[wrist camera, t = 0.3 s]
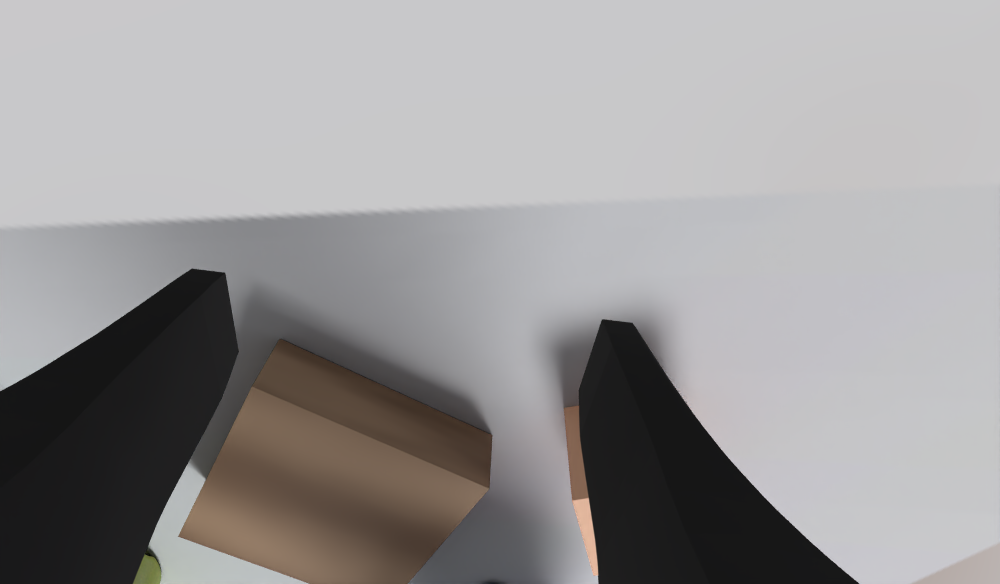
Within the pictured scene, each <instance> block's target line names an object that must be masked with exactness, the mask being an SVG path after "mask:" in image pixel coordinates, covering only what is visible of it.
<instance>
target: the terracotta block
mask: <svg viewBox="0 0 1000 584" xmlns="http://www.w3.org/2000/svg"><path fill="white" fill-rule="evenodd" d="M564 414H565V426H566V437H567V448H568V460H569V471H570V482H571V494H572V502H573V505H574V509H575V512H576V516H577V519H578V523H579V526H580V530H581V533H582V537H583V540H584V544H585V547H586V551H587V554H588V558H589V561H590V565H591V568H592V572H593V575H594V576H596V575H598V563H597V554H596V545H595V537H594V530H593V524H592V517H591V510H590V504H589V497H588V490H587V484H586V477H585V470H584V463H583V457H582V450H581V442H580V428H579V405H578V406H572V407H566V408H564Z"/></svg>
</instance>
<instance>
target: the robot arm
mask: <svg viewBox="0 0 1000 584" xmlns="http://www.w3.org/2000/svg"><path fill="white" fill-rule="evenodd" d="M238 352H239V351H238V345H237V339H236V333H235V327H234V321H233V316H232V310H231V304H230V298H229V292H228V286H227V280H226V274H225V273H223V272H215V271H206V270H198V269H191V270H189V271H188V272H186V273H185V274H183V275H182V276H180V277H179V278H177V279H176V280H174V281H173V282H171V283H170V284H169V285H167V286H166V287H164V288H163V289H161V290H160V291H159V292H157V293H156V294H154V295H153V296H152V297H150V298H149V299H147V300H146V301H144V302H143V303H142V304H140V305H139V306H137V307H136V308H134V309H133V310H131V311H130V312H128V313H127V314H126V315H124V316H123V317H121V318H120V319H118V320H117V321H115V322H114V323H112V324H111V325H109V326H108V327H106V328H105V329H103V330H102V331H101V332H99V333H98V334H96V335H94V336H93V337H91V338H90V339H88V340H86V341H85V342H83V343H82V344H80V345H78V346H77V347H75V348H74V349H72V350H70V351H69V352H67V353H66V354H64V355H62V356H61V357H59V358H57V359H56V360H54V361H53V362H51V363H49V364H48V365H46V366H45V367H43V368H41V369H40V370H38V371H36V372H34V373H33V374H31V375H29V376H27V377H26V378H24V379H22V380H20V381H19V382H17V383H15V384H13V385H11V386H9V387H8V388H6V389H4V390H2V391H0V584H133V582H134V580H135V577H136V575H137V572H138V570H139V567H140V565H141V562H142V560H143V557H144V555H145V552H146V550H147V547H148V545H149V542H150V540H151V537H152V535H153V532H154V530H155V527H156V525H157V523H158V521H159V518H160V516H161V514H162V512H163V510H164V508H165V506H166V504H167V502H168V500H169V498H170V496H171V494H172V492H173V490H174V488H175V486H176V484H177V483H178V481H179V479H180V477H181V475H182V473H183V471H184V469H185V467H186V466H187V464H188V462H189V460H190V458H191V456H192V454H193V452H194V451H195V449H196V447H197V445H198V443H199V441H200V439H201V437H202V435H203V434H204V432H205V430H206V428H207V426H208V424H209V422H210V420H211V418H212V416H213V414H214V412H215V410H216V408H217V406H218V405H219V403H220V401H221V399H222V396H223V393H224V391H225V388H226V386H227V383H228V380H229V378H230V375H231V372H232V369H233V366H234V363H235V360H236V357H237V355H238ZM579 428H580V442H581V450H582V457H583V463H584V470H585V477H586V484H587V490H588V497H589V504H590V510H591V517H592V524H593V530H594V537H595V545H596V554H597V563H598V581H599V584H859V583H858V582H857V581H855V580H854V579H853V578H852V577H851V576H849V575H848V574H847V573H846V572H845V571H843V570H842V569H841V568H840V567H839V566H837V565H836V564H835V563H834V562H833V561H831V560H830V559H829V558H828V557H827V556H826V555H825V554H823V553H822V552H821V551H820V550H819V549H818V548H817V547H816V546H814V545H813V544H812V543H811V542H810V541H809V540H808V539H807V538H806V537H805V536H804V535H803V534H801V533H800V532H799V531H798V530H797V529H796V528H795V527H794V526H793V525H792V524H791V523H790V522H789V521H788V520H787V519H786V518H785V517H784V516H783V515H781V514H780V513H779V512H778V511H777V510H776V509H775V508H774V507H773V506H772V505H771V504H770V503H769V502H768V501H767V500H766V499H765V498H764V497H763V496H762V494H761V493H760V492H759V491H758V490H757V489H756V488H755V487H754V486H753V485H752V484H751V483H750V481H749V480H748V479H747V478H746V477H745V476H744V475H743V474H742V473H741V472H740V471H739V469H738V468H737V467H736V466H735V465H734V464H733V463H732V462H731V460H730V459H729V458H728V457H727V456H726V455H725V453H724V452H723V451H722V450H721V449H720V447H719V446H718V445H717V444H716V442H715V441H714V440H713V439H712V437H711V436H710V435H709V434H708V432H707V431H706V430H705V429H704V427H703V426H702V425H701V423H700V422H699V421H698V419H697V418H696V417H695V415H694V414H693V412H692V411H691V410H690V408H689V407H688V405H687V404H686V403H685V401H684V400H683V398H682V397H681V395H680V394H679V393H678V391H677V390H676V388H675V387H674V385H673V384H672V383H671V381H670V380H669V378H668V377H667V375H666V374H665V372H664V371H663V369H662V367H661V366H660V364H659V363H658V361H657V360H656V358H655V357H654V355H653V354H652V352H651V351H650V349H649V347H648V346H647V344H646V343H645V341H644V340H643V338H642V336H641V335H640V333H639V332H638V330H637V329H636V327H635V326H634V324H633V323H628V322H620V321H612V320H604V319H602V321H601V324H600V327H599V330H598V333H597V336H596V339H595V342H594V346H593V349H592V352H591V355H590V358H589V361H588V364H587V367H586V370H585V373H584V376H583V379H582V382H581V385H580V388H579Z"/></svg>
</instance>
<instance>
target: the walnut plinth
mask: <svg viewBox="0 0 1000 584" xmlns="http://www.w3.org/2000/svg"><path fill="white" fill-rule="evenodd" d="M491 451H492V435H490V434H488V433H486V432H484V431H482V430H479V429H477V428H475V427H473V426H471V425H468V424H466V423H464V422H462V421H460V420H457V419H455V418H453V417H451V416H449V415H446V414H444V413H442V412H440V411H438V410H435V409H433V408H431V407H429V406H427V405H424V404H422V403H420V402H418V401H416V400H413V399H411V398H409V397H407V396H405V395H402V394H400V393H398V392H396V391H394V390H391V389H389V388H387V387H385V386H383V385H380V384H378V383H376V382H374V381H372V380H370V379H367V378H365V377H363V376H361V375H359V374H356V373H354V372H352V371H350V370H348V369H345V368H343V367H341V366H339V365H337V364H334V363H332V362H330V361H328V360H326V359H323V358H321V357H319V356H317V355H315V354H312V353H310V352H308V351H306V350H304V349H301V348H299V347H297V346H295V345H293V344H290V343H288V342H286V341H284V340H282V339H279V341H278V342H277V344H276V346H275V348H274V349H273V351H272V353H271V354H270V356H269V358H268V360H267V361H266V363H265V365H264V367H263V368H262V370H261V372H260V373H259V375H258V377H257V379H256V380H255V382H254V384H253V385H252V387H251V389H250V391H249V393H248V395H247V397H246V400H245V402H244V404H243V406H242V408H241V410H240V412H239V414H238V416H237V418H236V420H235V422H234V424H233V426H232V428H231V430H230V432H229V434H228V436H227V438H226V440H225V442H224V444H223V446H222V448H221V450H220V452H219V454H218V457H217V459H216V461H215V463H214V465H213V467H212V469H211V471H210V473H209V475H208V477H207V479H206V481H205V483H204V485H203V487H202V489H201V491H200V493H199V495H198V497H197V499H196V501H195V503H194V505H193V507H192V509H191V511H190V514H189V516H188V518H187V520H186V522H185V524H184V526H183V528H182V530H181V532H180V534H179V536H178V537H181V538H184V539H186V540H189V541H192V542H195V543H198V544H200V545H203V546H206V547H209V548H212V549H214V550H217V551H220V552H223V553H226V554H228V555H231V556H234V557H237V558H240V559H242V560H245V561H248V562H251V563H253V564H256V565H259V566H262V567H265V568H267V569H270V570H273V571H276V572H279V573H281V574H284V575H287V576H290V577H293V578H295V579H298V580H301V581H304V582H307V583H309V584H408V583H409V581H410V580H411V579H412V578H413V577H414V576H415V575H416V573H417V572H418V571H419V570H420V569H421V568H422V566H423V565H424V564H425V563H426V562H427V561H428V559H429V558H430V557H431V556H432V555H433V554H434V552H435V551H436V550H437V549H438V548H439V547H440V545H441V544H442V543H443V542H444V541H445V540H446V538H447V537H448V536H449V535H450V534H451V533H452V532H453V530H454V529H455V528H456V527H457V526H458V525H459V523H460V522H461V521H462V520H463V519H464V518H465V516H466V515H467V514H468V513H469V512H470V511H471V509H472V508H473V507H474V506H475V505H476V504H477V502H478V501H479V500H480V499H481V498H482V497H483V495H484V494H485V493H486V492H487V491H488V490H489V485H490V468H491Z"/></svg>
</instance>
